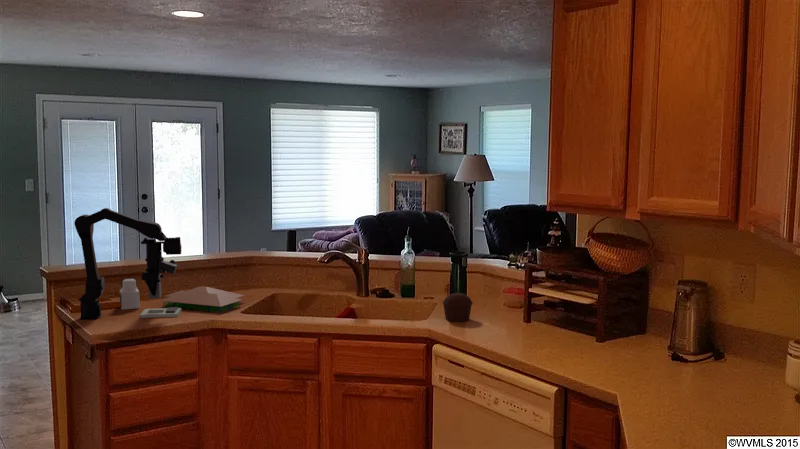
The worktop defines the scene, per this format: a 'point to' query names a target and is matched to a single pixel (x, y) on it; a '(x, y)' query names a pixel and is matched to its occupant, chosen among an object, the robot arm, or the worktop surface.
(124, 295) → the medicine bottle
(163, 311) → the plate
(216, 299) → the house
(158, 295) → the block
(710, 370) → the worktop surface
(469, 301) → the muffin
